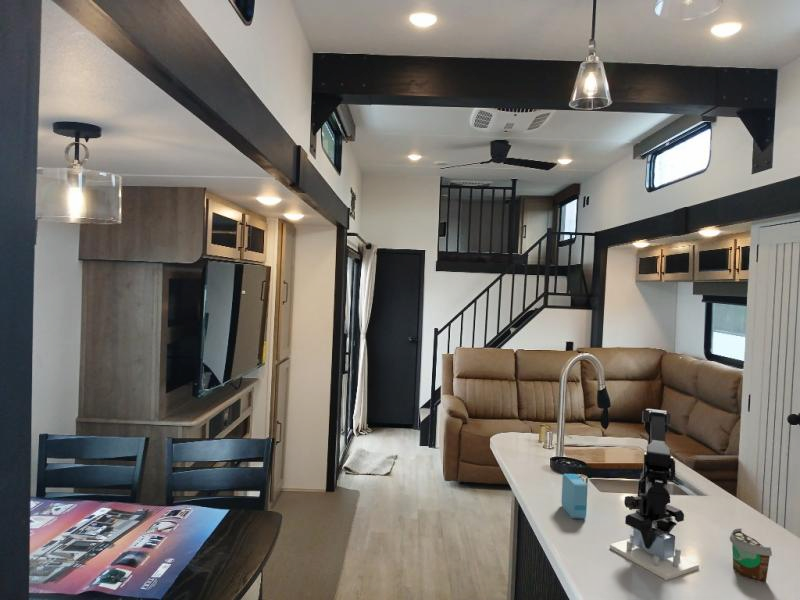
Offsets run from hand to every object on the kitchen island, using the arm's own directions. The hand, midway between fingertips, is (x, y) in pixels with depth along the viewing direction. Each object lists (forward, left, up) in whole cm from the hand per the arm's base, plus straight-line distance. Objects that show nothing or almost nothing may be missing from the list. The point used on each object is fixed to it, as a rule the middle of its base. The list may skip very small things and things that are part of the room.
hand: (653, 546), depth 158 cm
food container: (-17, +16, -4) cm, 24 cm away
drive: (0, 0, -1) cm, 1 cm away
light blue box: (-2, -33, -4) cm, 33 cm away
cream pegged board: (0, 0, -4) cm, 4 cm away
